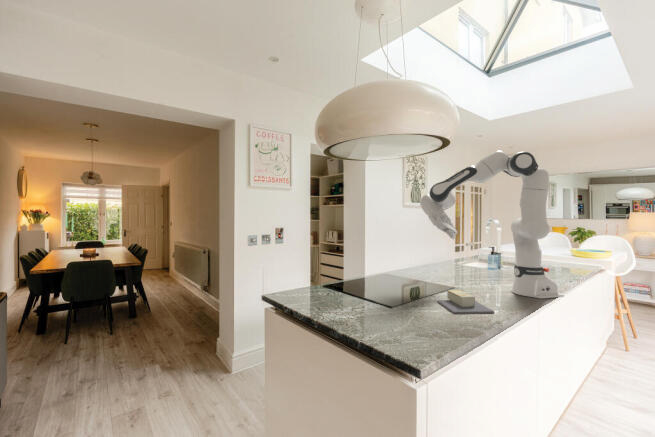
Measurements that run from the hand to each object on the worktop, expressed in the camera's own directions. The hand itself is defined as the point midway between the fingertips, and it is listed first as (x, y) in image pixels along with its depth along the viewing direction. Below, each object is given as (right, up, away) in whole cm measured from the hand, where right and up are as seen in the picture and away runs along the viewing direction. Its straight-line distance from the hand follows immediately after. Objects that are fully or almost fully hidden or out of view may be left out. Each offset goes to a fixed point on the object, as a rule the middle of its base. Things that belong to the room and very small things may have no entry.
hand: (453, 237), depth 158 cm
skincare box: (-7, -26, -16) cm, 31 cm away
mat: (-6, -29, -26) cm, 39 cm away
